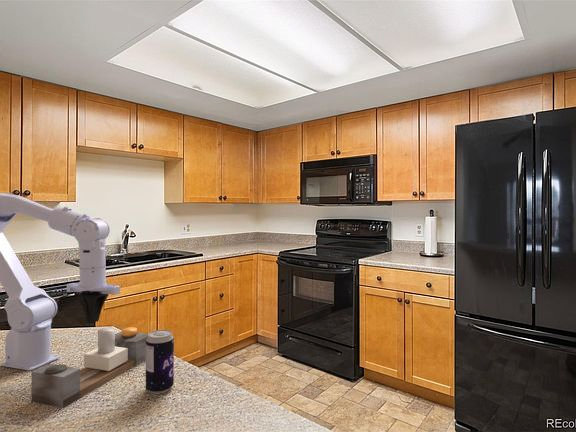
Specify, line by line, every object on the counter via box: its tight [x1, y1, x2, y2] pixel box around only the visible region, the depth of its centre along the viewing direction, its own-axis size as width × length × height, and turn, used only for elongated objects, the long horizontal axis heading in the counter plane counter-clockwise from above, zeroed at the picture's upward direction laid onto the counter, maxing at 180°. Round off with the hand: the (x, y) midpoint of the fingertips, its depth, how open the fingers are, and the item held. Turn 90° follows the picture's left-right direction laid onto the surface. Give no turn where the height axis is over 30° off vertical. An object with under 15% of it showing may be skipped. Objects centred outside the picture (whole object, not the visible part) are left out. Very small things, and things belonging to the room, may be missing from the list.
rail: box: [30, 330, 149, 409], centre depth 83 cm, size 9×26×6 cm, turn 164°
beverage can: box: [145, 329, 175, 395], centre depth 77 cm, size 6×6×12 cm
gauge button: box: [121, 326, 138, 338], centre depth 93 cm, size 4×4×3 cm
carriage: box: [83, 327, 128, 371], centre depth 85 cm, size 7×6×8 cm
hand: (93, 321), depth 90 cm, fingers closed
